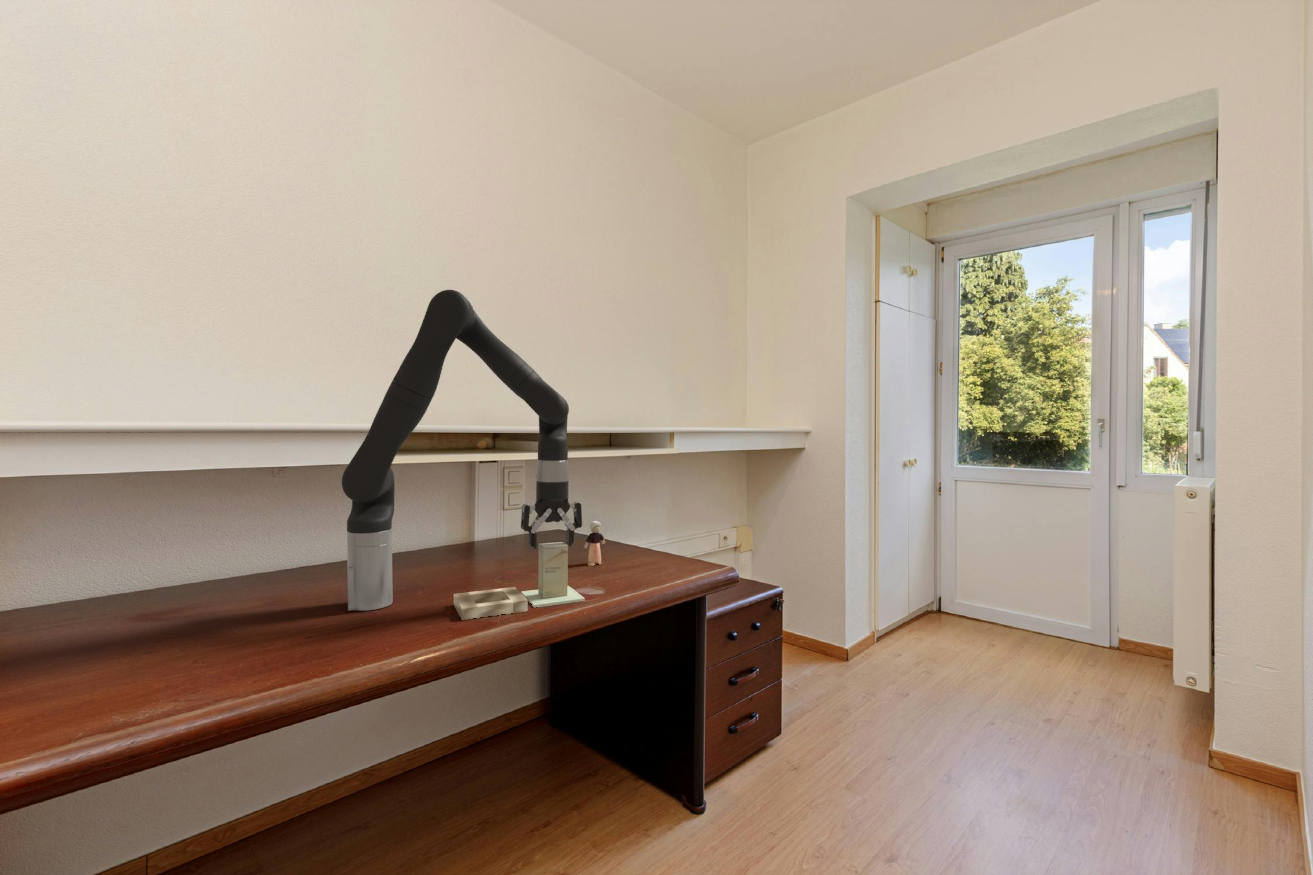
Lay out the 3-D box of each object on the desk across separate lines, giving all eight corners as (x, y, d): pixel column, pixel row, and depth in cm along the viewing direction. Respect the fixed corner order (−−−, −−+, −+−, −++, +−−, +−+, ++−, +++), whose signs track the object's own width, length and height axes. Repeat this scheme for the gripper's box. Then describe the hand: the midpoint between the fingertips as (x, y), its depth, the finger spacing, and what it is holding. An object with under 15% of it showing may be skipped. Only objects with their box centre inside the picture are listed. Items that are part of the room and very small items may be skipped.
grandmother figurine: (592, 567, 177) (592, 523, 177) (582, 565, 179) (581, 521, 179) (608, 562, 184) (608, 519, 183) (598, 560, 186) (598, 518, 185)
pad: (534, 607, 140) (534, 605, 140) (521, 593, 151) (521, 591, 151) (584, 600, 145) (584, 598, 145) (568, 588, 156) (568, 585, 156)
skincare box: (542, 598, 145) (542, 546, 144) (537, 593, 149) (537, 543, 148) (568, 595, 147) (568, 544, 147) (563, 590, 152) (563, 541, 151)
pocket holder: (462, 620, 131) (462, 608, 131) (453, 604, 142) (453, 594, 142) (527, 611, 137) (527, 600, 137) (514, 597, 148) (514, 586, 148)
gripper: (526, 481, 141) (525, 552, 141) (586, 479, 147) (585, 548, 147) (518, 478, 147) (517, 546, 148) (576, 476, 154) (575, 542, 154)
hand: (551, 547), depth 148 cm, fingers open, 8 cm apart
